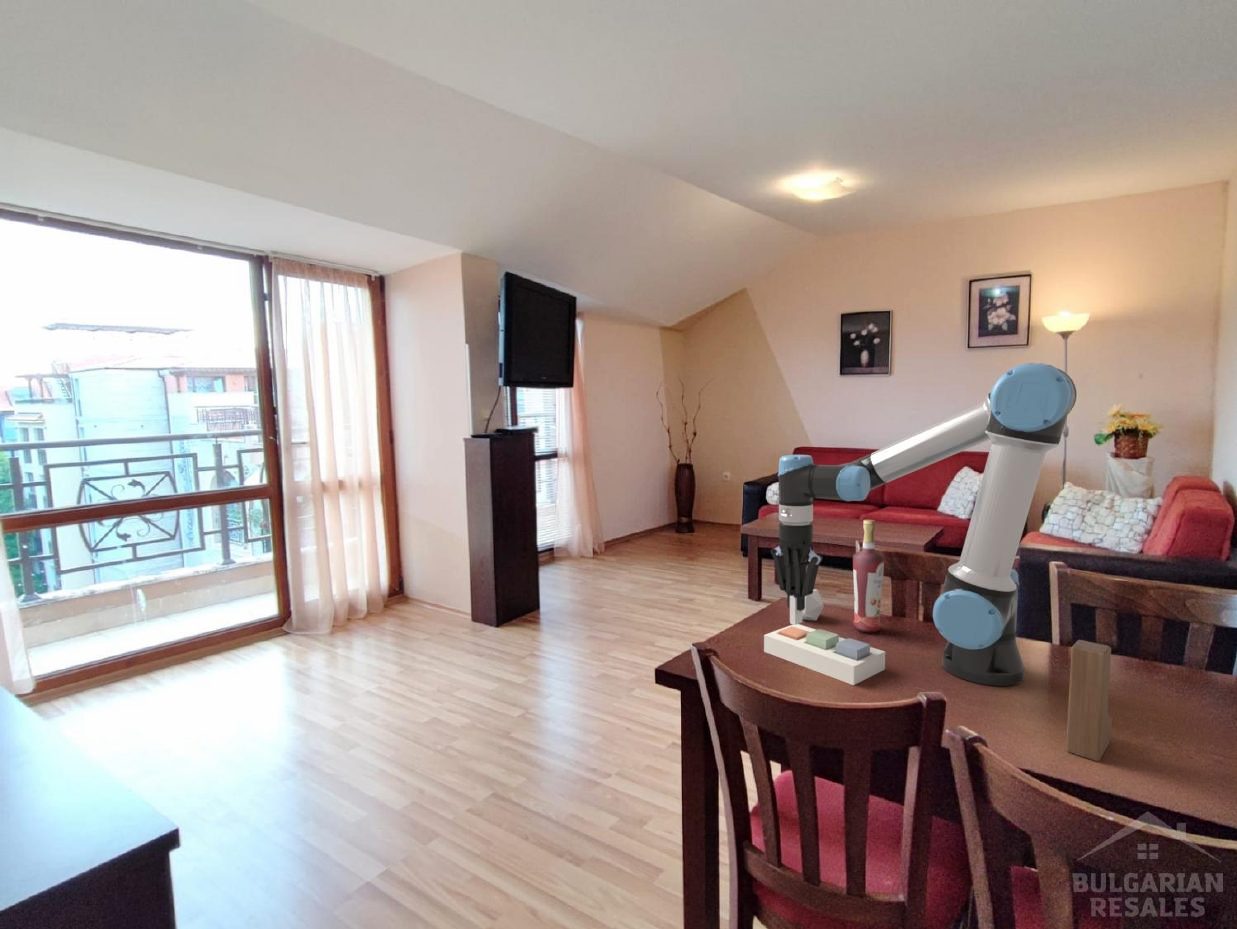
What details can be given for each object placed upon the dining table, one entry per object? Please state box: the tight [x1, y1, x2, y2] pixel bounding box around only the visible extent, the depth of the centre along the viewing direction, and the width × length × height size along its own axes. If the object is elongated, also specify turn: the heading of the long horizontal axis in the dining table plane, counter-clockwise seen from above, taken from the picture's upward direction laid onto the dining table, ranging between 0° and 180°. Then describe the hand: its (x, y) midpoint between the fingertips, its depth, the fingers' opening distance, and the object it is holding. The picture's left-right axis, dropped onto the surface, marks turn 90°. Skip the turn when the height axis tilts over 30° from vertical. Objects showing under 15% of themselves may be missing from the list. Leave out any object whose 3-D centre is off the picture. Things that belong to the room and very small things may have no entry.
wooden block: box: [1065, 639, 1113, 762], centre depth 104 cm, size 9×4×18 cm, turn 133°
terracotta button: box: [779, 626, 810, 640], centre depth 147 cm, size 5×5×3 cm
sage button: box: [806, 628, 840, 650], centre depth 141 cm, size 5×5×3 cm
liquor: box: [852, 519, 885, 634], centre depth 159 cm, size 7×7×28 cm
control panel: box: [763, 623, 886, 686], centre depth 141 cm, size 23×12×4 cm, turn 38°
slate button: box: [836, 637, 871, 661], centre depth 135 cm, size 5×5×3 cm
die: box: [802, 588, 824, 622], centre depth 169 cm, size 8×9×10 cm
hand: (796, 622), depth 147 cm, fingers closed
